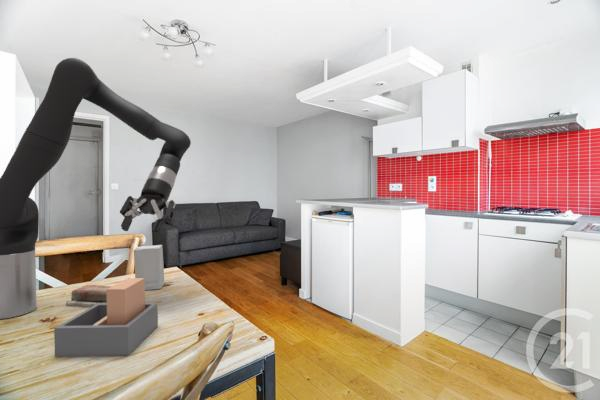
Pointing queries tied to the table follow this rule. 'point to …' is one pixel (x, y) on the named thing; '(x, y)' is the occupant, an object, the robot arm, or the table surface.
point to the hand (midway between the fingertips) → (139, 231)
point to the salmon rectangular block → (125, 301)
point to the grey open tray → (103, 333)
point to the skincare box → (149, 265)
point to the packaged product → (88, 296)
